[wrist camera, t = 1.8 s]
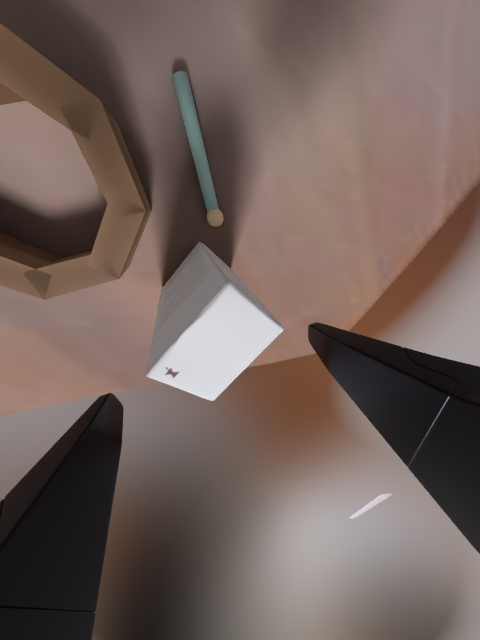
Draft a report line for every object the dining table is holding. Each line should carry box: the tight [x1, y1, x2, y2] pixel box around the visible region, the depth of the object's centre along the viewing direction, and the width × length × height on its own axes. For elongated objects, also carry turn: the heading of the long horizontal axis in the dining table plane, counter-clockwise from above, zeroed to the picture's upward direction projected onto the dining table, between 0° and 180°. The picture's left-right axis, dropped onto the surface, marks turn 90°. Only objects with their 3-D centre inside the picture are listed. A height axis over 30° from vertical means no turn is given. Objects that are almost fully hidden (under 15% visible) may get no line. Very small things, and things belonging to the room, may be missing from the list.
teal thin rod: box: [172, 71, 223, 227], centre depth 15 cm, size 9×1×1 cm, turn 13°
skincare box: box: [146, 242, 284, 401], centre depth 15 cm, size 6×4×12 cm
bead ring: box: [0, 23, 152, 300], centre depth 12 cm, size 12×12×4 cm
